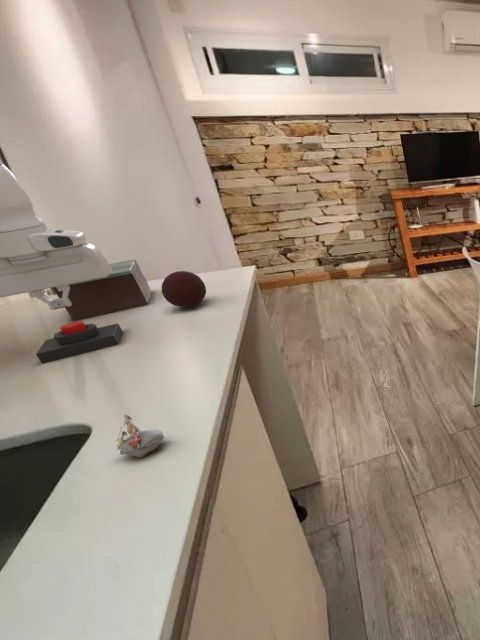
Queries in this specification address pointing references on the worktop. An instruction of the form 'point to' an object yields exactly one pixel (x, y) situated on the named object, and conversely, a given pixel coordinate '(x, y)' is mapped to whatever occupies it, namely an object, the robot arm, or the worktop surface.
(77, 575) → the worktop surface
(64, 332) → the button
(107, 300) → the chest
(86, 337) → the button box
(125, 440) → the figurine
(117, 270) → the chest lid
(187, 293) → the dark brown oval ball
